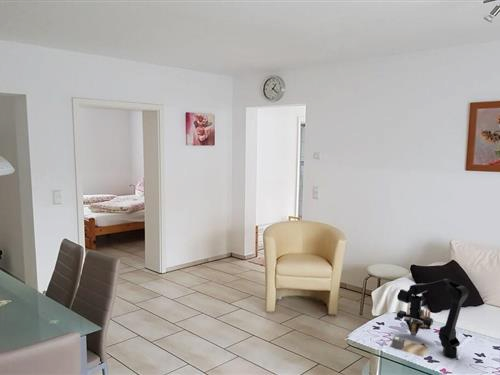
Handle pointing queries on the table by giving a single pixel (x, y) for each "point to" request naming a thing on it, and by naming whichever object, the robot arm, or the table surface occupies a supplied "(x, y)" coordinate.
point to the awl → (413, 328)
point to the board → (414, 348)
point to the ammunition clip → (423, 317)
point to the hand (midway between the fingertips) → (413, 332)
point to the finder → (398, 342)
